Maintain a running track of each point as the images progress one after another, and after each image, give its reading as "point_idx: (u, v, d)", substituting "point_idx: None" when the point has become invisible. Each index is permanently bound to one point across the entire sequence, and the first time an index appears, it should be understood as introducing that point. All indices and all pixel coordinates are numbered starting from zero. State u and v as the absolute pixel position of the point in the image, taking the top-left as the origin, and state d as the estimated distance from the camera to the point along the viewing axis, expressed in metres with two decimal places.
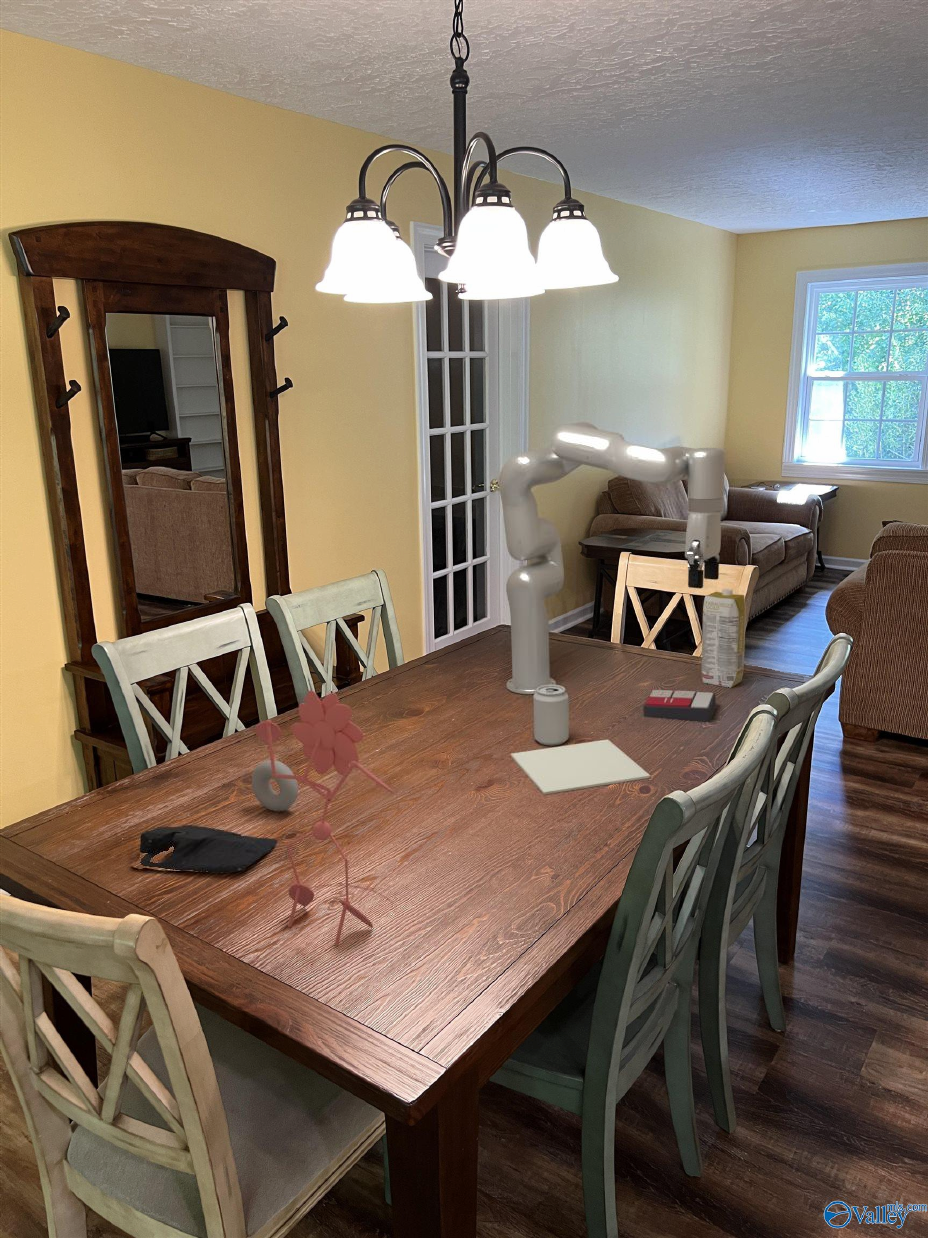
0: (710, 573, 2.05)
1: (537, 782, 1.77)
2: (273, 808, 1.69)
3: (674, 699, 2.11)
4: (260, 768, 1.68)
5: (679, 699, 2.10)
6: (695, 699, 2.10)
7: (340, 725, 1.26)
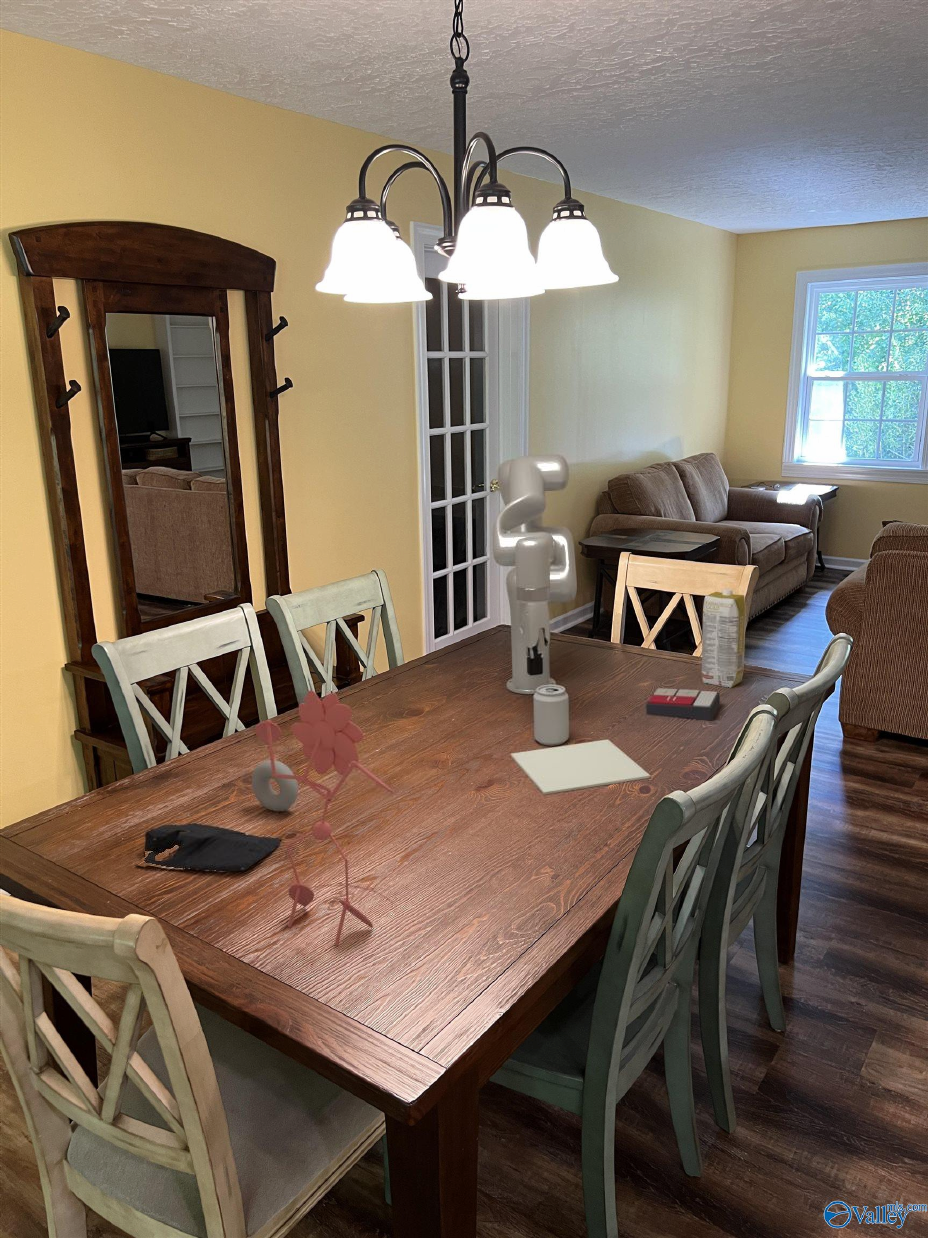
0: None
1: (537, 782, 1.77)
2: (273, 808, 1.69)
3: (677, 697, 2.12)
4: (260, 768, 1.68)
5: (682, 698, 2.11)
6: (698, 698, 2.11)
7: (340, 725, 1.26)
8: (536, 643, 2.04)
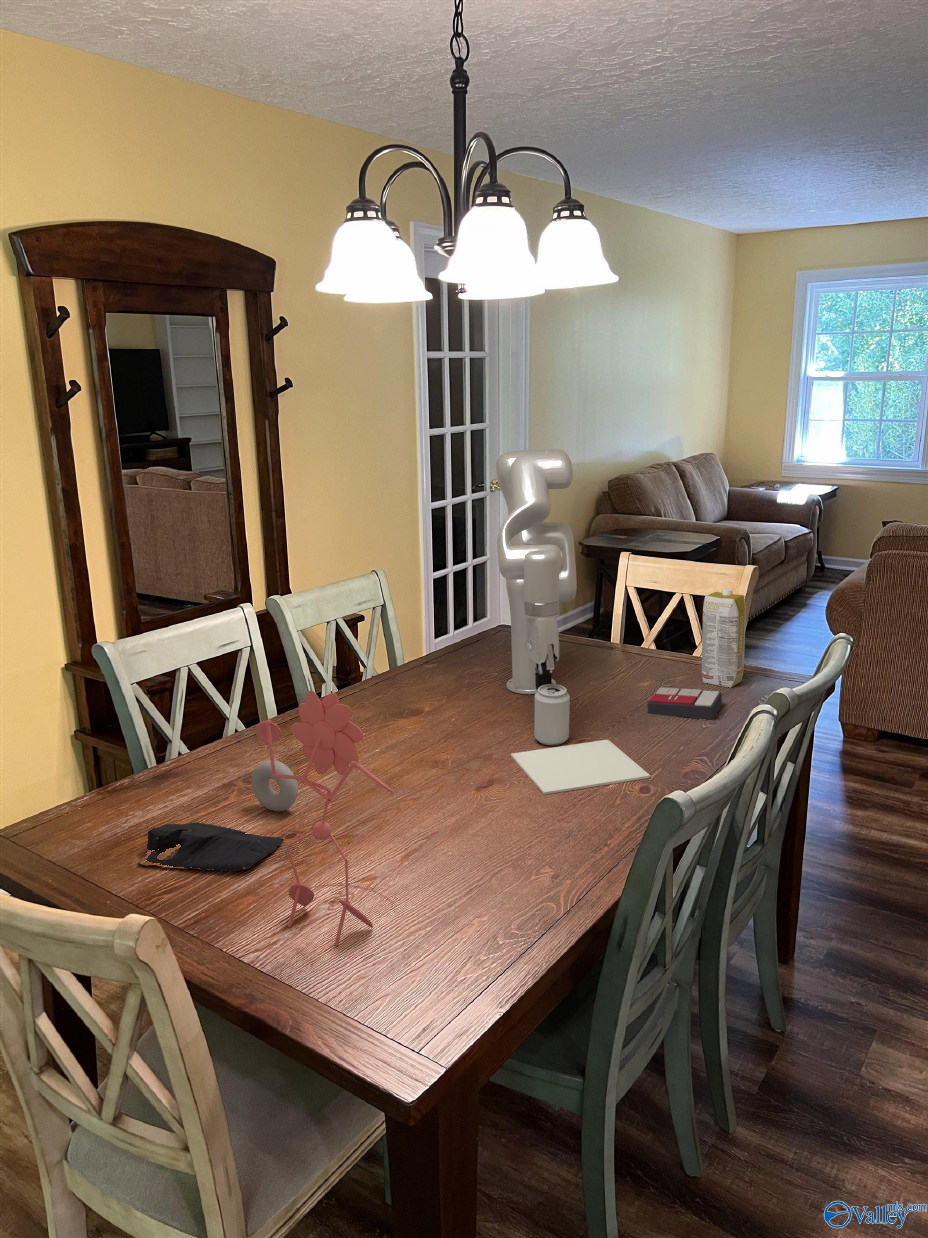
0: None
1: (537, 782, 1.77)
2: (273, 808, 1.69)
3: (679, 697, 2.12)
4: (260, 767, 1.68)
5: (683, 697, 2.12)
6: (700, 697, 2.11)
7: (340, 725, 1.26)
8: None
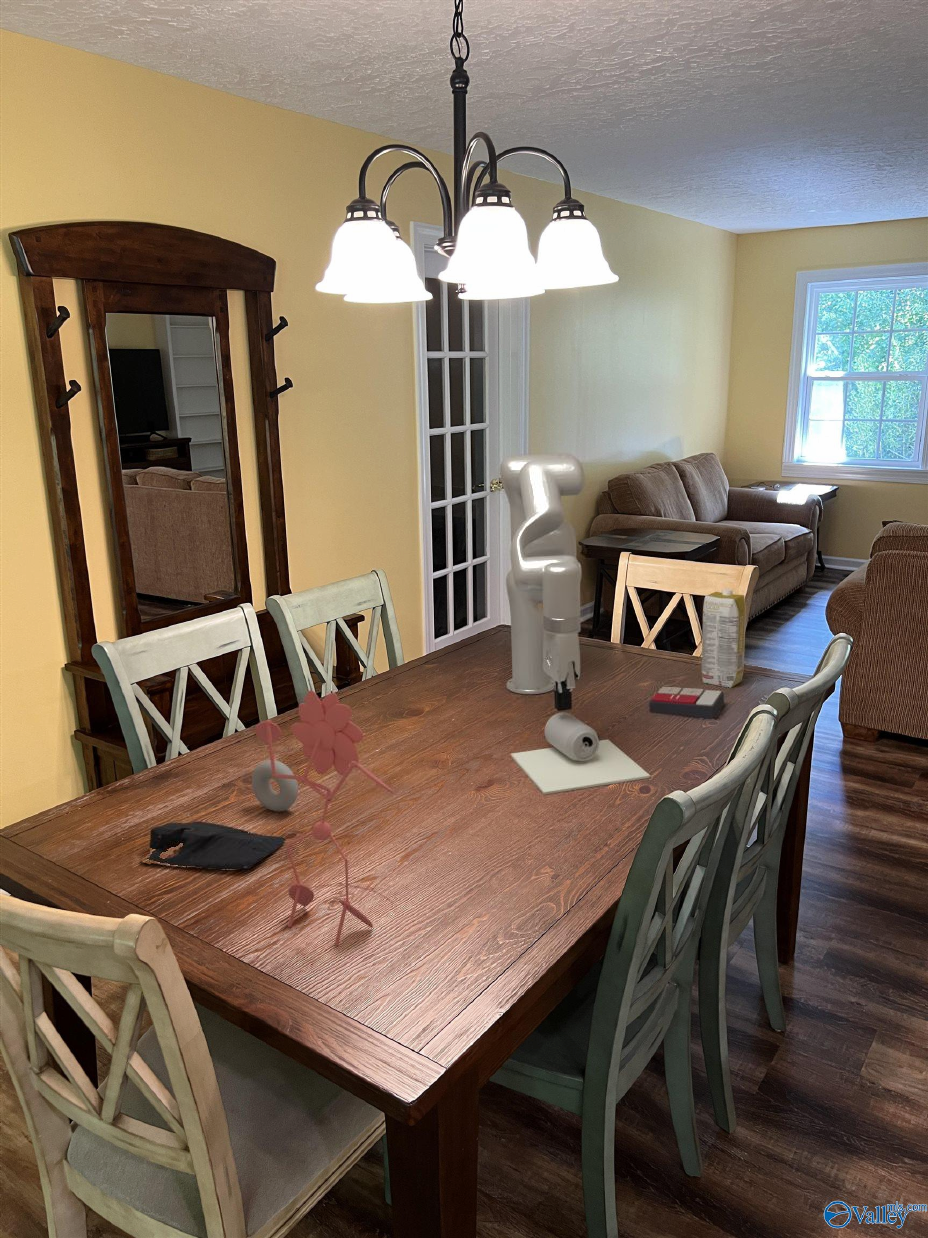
0: None
1: (537, 782, 1.77)
2: (273, 808, 1.69)
3: (681, 696, 2.13)
4: (260, 767, 1.68)
5: (685, 696, 2.12)
6: (702, 697, 2.12)
7: (340, 725, 1.26)
8: None
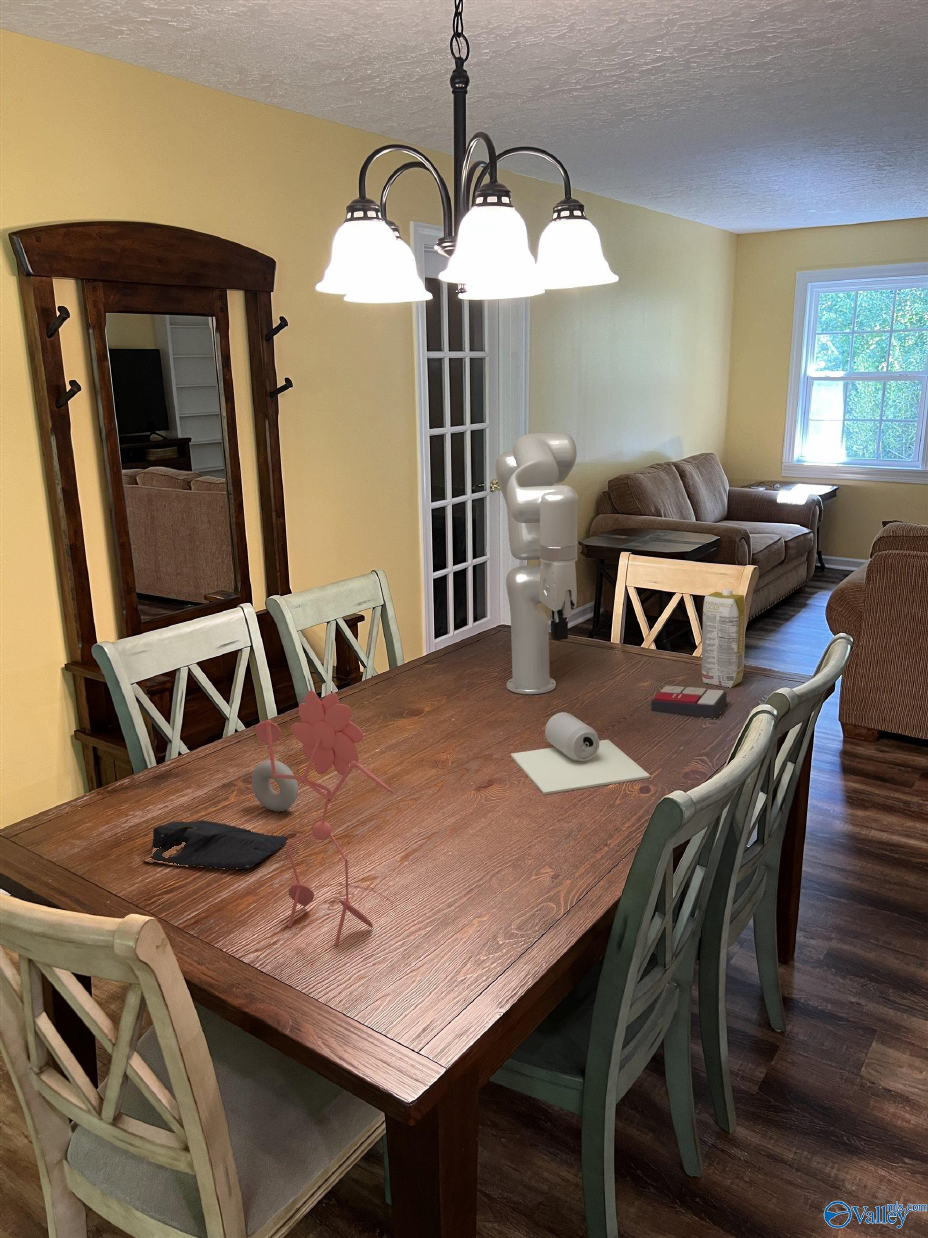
0: None
1: (537, 782, 1.77)
2: (273, 808, 1.69)
3: (683, 695, 2.13)
4: (260, 767, 1.68)
5: (687, 695, 2.13)
6: (704, 696, 2.12)
7: (340, 725, 1.26)
8: None
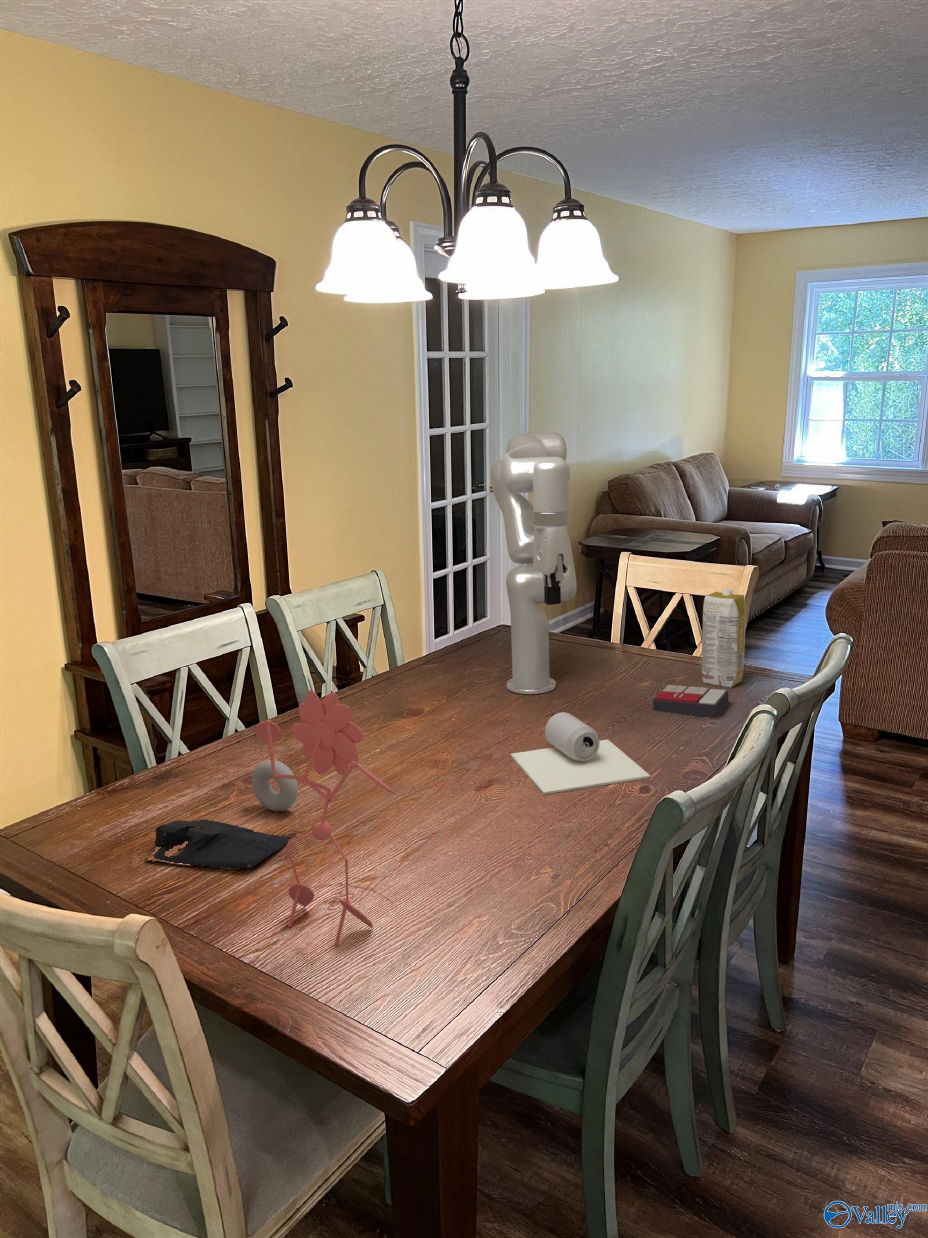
0: None
1: (537, 782, 1.77)
2: (273, 808, 1.69)
3: (684, 694, 2.14)
4: (260, 768, 1.68)
5: (689, 695, 2.13)
6: (705, 695, 2.12)
7: (340, 725, 1.26)
8: (554, 571, 1.97)
